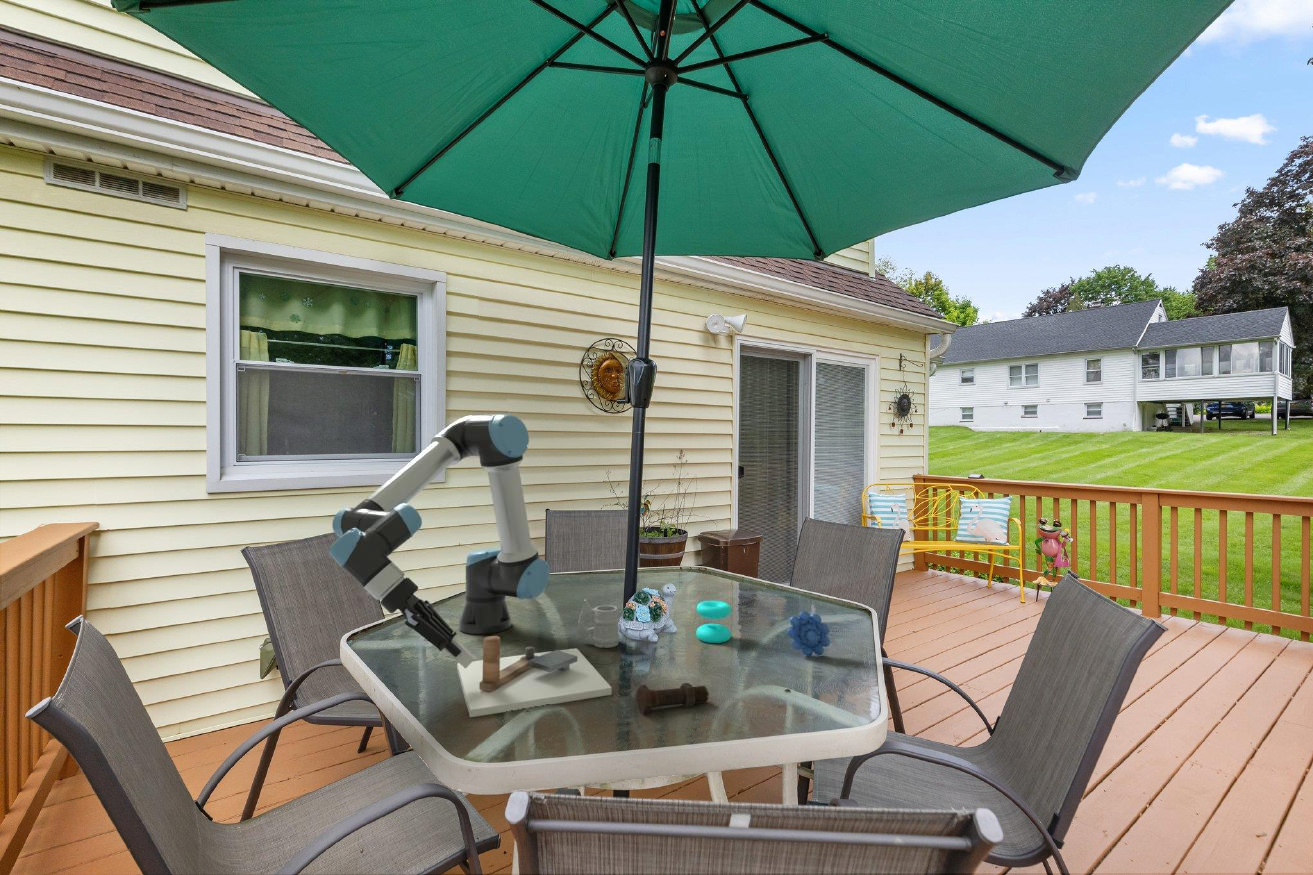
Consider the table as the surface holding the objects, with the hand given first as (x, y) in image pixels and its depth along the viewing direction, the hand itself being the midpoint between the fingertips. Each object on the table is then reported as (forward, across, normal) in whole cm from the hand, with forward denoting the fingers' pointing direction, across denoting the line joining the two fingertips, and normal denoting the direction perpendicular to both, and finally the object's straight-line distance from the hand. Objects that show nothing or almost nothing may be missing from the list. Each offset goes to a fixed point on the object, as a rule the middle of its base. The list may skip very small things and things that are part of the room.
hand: (470, 662), depth 132 cm
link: (+9, -4, +3) cm, 11 cm away
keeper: (+17, -5, +8) cm, 20 cm away
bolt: (+36, +13, +26) cm, 46 cm away
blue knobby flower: (+64, -12, +55) cm, 85 cm away
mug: (+26, -30, +17) cm, 43 cm away
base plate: (+14, -5, +5) cm, 15 cm away
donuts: (+49, -30, +40) cm, 70 cm away
